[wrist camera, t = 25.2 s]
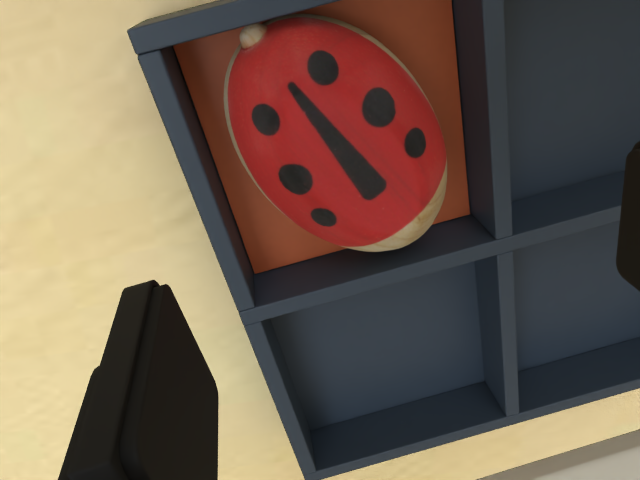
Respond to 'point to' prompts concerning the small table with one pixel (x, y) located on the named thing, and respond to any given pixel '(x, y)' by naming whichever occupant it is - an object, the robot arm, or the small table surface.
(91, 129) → the small table surface
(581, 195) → the four-compartment sorting tray
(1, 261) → the small table surface
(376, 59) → the ladybug figurine
